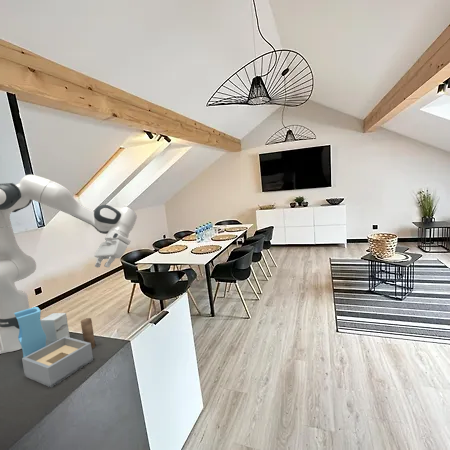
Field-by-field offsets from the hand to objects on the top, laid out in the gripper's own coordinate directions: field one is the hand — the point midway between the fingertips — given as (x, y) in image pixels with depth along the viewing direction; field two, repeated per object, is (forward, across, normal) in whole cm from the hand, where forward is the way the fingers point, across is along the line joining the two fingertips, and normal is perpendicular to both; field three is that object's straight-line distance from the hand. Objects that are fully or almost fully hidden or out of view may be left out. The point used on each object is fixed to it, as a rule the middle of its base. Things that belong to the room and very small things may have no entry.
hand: (101, 266), depth 120 cm
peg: (+31, -3, +13) cm, 34 cm away
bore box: (+40, +2, +3) cm, 40 cm away
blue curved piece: (+41, -13, -1) cm, 43 cm away
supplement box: (+34, -19, +6) cm, 40 cm away
